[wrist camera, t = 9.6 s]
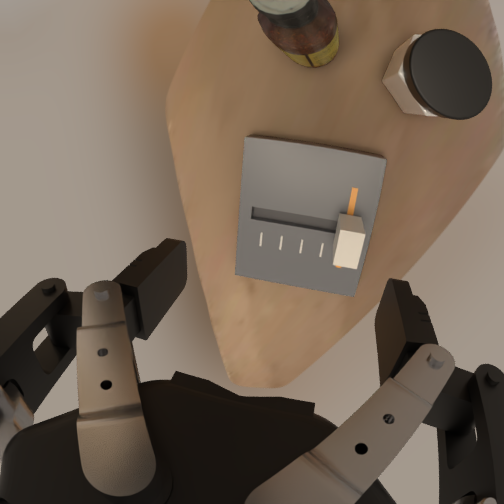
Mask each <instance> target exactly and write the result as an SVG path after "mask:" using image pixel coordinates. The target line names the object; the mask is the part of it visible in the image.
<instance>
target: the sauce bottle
mask: <svg viewBox="0 0 504 504" xmlns="http://www.w3.org/2000/svg"><path fill="white" fill-rule="evenodd" d="M250 2H251V3H252V5H253V6H254V7H255V8H256V9H257V10H258V11H259V14H258V21H259V23H260V25H261V27H262V29H263V32H264V33H265V34H266V36H267V37H268V38H269V39H270V40H271V41H272V42H273V43H274V44H275V45H276V46H277V47H278V48H279V49H280V50H282V51H283V52H284V53H285V54H286V55H287V56H288V57H289V58H291V59H292V60H293V61H295V62H296V63H298V64H300V65H303V66H307V67H320V66H323V65H325V64H326V63H328V62H329V61H331V60H332V59H333V58H334V57H335V55H336V53H337V51H338V47H339V38H338V26H337V18H336V15H335V12H334V10H333V8H332V6H331V5H330V3H329V2H328V1H327V0H250Z"/></svg>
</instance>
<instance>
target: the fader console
mask: <svg viewBox="0 0 504 504" xmlns="http://www.w3.org/2000/svg"><path fill="white" fill-rule="evenodd" d="M386 162H387V159H386V158H385V157H384V156H382V155H378V154H373V153H368V152H363V151H358V150H353V149H348V148H342V147H337V146H331V145H325V144H319V143H313V142H306V141H299V140H292V139H285V138H277V137H269V136H260V135H249V136H246V137H245V139H244V152H243V166H242V179H241V193H240V207H239V221H238V236H237V251H236V267H235V275H239V276H244V277H249V278H254V279H259V280H264V281H270V282H275V283H280V284H285V285H291V286H296V287H301V288H307V289H312V290H318V291H323V292H329V293H334V294H340V295H346V296H351V297H354V295H355V292H356V289H357V285H358V282H359V278H360V275H361V271H362V268H363V264H364V260H365V256H366V253H367V249H368V245H369V241H370V237H371V233H372V229H373V224H374V220H375V216H376V211H377V207H378V202H379V198H380V193H381V188H382V183H383V178H384V173H385V168H386ZM339 213H341V214H347V215H352V216H357V217H361V218H362V222H363V226H364V230H365V234H366V235H365V239H364V243H363V247H362V251H361V255H360V259H359V263H358V266H357V269H352V268H347V267H341V266H336V265H333V243H334V238H335V233H336V228H337V223H338V218H339Z"/></svg>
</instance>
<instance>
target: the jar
mask: <svg viewBox="0 0 504 504" xmlns="http://www.w3.org/2000/svg"><path fill="white" fill-rule="evenodd" d="M382 82H383V84H384V85H385V86H386V88H387V89H388V91H389V92H390V93H391V95H392V96H393V98H394V99H395V101H396V102H397V104H398V105H399V107H400V108H401V110H402V111H403V113H406V114H415V115H423V116H439V117H443V118H449V119H456V120H464V119H469V118H472V117H474V116H476V115H478V114H479V113H480V112H481V111H482V110H483V109H484V108H485V107H486V105H487V103H488V101H489V99H490V96H491V91H492V77H491V72H490V69H489V66H488V63H487V61H486V59H485V57H484V56H483V54H482V53H481V51H480V50H479V49H478V47H477V46H476V45H475V44H474V43H473V42H472V41H470V40H469V39H468V38H466V37H465V36H463V35H462V34H460V33H457V32H455V31H452V30H447V29H434V30H430V31H428V32H426V33H424V34H422V35H419V34H414V35H413V36H412V37H411V38H409V39H408V40H407V41H406V42H404V43H403V44H402V45H401V46H400V47H398V48H397V49H396V50H395V51H394V54H393V56H392V58H391V61H390V63H389V65H388V68H387V70H386V72H385V74H384V77H383V79H382Z"/></svg>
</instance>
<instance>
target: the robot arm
mask: <svg viewBox="0 0 504 504" xmlns="http://www.w3.org/2000/svg"><path fill="white" fill-rule="evenodd" d="M186 280H187V253H186V243H185V242H184V241H181V240H175V239H170V238H166V239H165V240H164V241H163V242H161V243H160V244H159V246H157V247H156V248H151V249H149V250H147V251H145V252H143V253H141V254H140V255H139V256H138V257H137V258H136V260H134V261H133V262H132V263H130V266H129V265H128V266H127V267H126V268H125V269H124V270H123V271H122V272H121V273H120V274H119V275H118V276H117V277H116V278H114V279H113V280H112V281H108V280H104V281H98V282H95V283H92V284H91V285H89V286H88V287H87V288H86V289H85V290H84V292H69V291H67V287H66V283H65V281H64V280H62V279H59V278H50V279H46V280H43V281H41V282H39V283H38V284H37V285H36V286H35V287H33V288H32V289H31V290H30V291H29V292H28V293H27V294H26V295H25V296H23V297H22V298H21V299H20V300H19V301H18V302H17V303H16V304H15V305H14V306H13V307H12V308H11V309H10V310H9V311H7V312H6V313H5V314H4V315H3V316H2V317H1V318H0V463H2V465H1V475H0V504H396V502H395V501H394V500H393V499H392V497H391V496H390V494H389V493H388V492H387V490H386V489H385V488H384V487H383V485H382V484H381V482H380V481H379V480H378V477H379V476H380V475H381V473H382V472H383V471H384V470H385V469H386V468H387V466H388V465H389V464H390V463H391V462H392V460H393V459H394V458H395V457H396V456H397V454H398V453H399V452H400V451H401V449H402V448H403V447H404V445H405V444H406V443H407V442H408V440H409V439H410V438H411V436H412V435H413V433H414V432H415V431H416V429H417V428H418V427H419V425H420V424H421V423H425V424H427V425H430V426H433V427H436V428H437V438H438V453H439V504H504V374H503V372H502V371H501V370H499V369H498V368H497V367H495V366H493V365H490V364H483V365H480V366H479V367H478V368H477V369H476V371H475V372H474V373H471V372H468V371H466V370H463V369H460V368H458V367H455V361H454V358H453V356H452V355H451V354H450V352H449V351H447V350H446V349H445V348H443V347H441V346H439V345H438V341H437V338H436V335H435V332H434V328H433V325H432V323H431V320H430V317H429V315H428V311H427V308H426V305H425V304H424V302H423V301H422V300H421V299H420V298H419V297H418V296H415V295H413V294H412V291H411V288H410V285H409V282H408V281H403V280H397V279H392V278H390V279H389V280H388V281H387V284H386V287H385V290H384V293H383V296H382V298H381V301H380V304H379V307H378V310H377V313H376V318H375V332H376V343H377V352H378V363H379V376H380V388H379V389H378V390H377V391H376V392H375V393H374V394H373V395H372V396H371V397H370V398H369V399H368V400H367V401H366V402H365V403H364V404H363V405H362V406H361V407H360V408H359V409H358V410H357V411H356V412H355V413H354V414H353V415H352V416H350V417H349V418H348V419H347V420H346V421H345V422H344V423H343V424H342V425H341V426H340V427H337V426H336V425H334V424H333V423H332V422H330V421H328V420H327V419H325V418H323V417H321V416H319V415H317V414H315V413H314V407H315V403H312V402H306V401H300V400H294V399H289V398H284V397H245V396H239V395H237V394H235V393H233V392H231V391H229V390H227V389H225V388H223V387H221V386H219V385H217V384H215V383H213V382H211V381H209V380H206V379H202V378H199V377H195V376H191V375H188V374H184V373H181V372H178V371H176V372H175V373H174V375H173V377H172V379H171V380H153V381H147V382H143V383H141V381H140V377H139V373H138V368H137V363H136V359H135V354H134V349H133V344H132V341H133V339H134V338H135V337H137V338H141V339H143V340H147V339H148V338H149V336H150V335H151V333H152V332H153V331H154V329H155V328H156V326H157V325H158V324H159V322H160V321H161V319H162V318H163V317H164V315H165V314H166V313H167V311H168V310H169V308H170V307H171V306H172V304H173V303H174V301H175V300H176V299H177V297H178V296H179V295H180V293H181V292H182V290H183V289H184V287H185V285H186ZM44 327H45V328H46V331H47V333H48V336H47V337H46V339H45V340H44V341H43V342H42V343H41V344H40V345H39V347H38V348H37V349H36V350H35V351H33V341H34V339H35V337H36V336H37V335H38V333H39V332H40V331H41V330H42V329H43V328H44ZM76 355H77V383H78V401H79V408H78V409H75V410H73V411H70V412H67V413H64V414H62V415H59V416H56V417H54V418H51V419H48V420H45V421H42V422H40V423H37V424H34V425H33V422H34V413H35V412H36V410H37V409H38V407H39V406H40V404H41V403H42V402H43V400H44V399H45V397H46V396H47V394H48V393H49V392H50V390H51V389H52V387H53V386H54V384H55V383H56V382H57V381H58V379H59V378H60V376H61V375H62V374H63V372H64V371H65V370H66V368H67V367H68V366H69V364H70V363H71V361H72V360H73V359H74V358H75V356H76ZM475 427H476V431H477V441H476V434H475Z"/></svg>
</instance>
